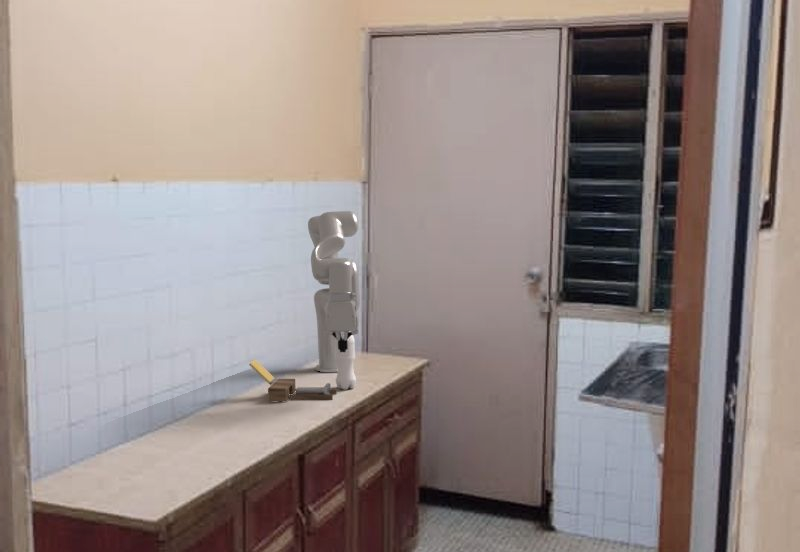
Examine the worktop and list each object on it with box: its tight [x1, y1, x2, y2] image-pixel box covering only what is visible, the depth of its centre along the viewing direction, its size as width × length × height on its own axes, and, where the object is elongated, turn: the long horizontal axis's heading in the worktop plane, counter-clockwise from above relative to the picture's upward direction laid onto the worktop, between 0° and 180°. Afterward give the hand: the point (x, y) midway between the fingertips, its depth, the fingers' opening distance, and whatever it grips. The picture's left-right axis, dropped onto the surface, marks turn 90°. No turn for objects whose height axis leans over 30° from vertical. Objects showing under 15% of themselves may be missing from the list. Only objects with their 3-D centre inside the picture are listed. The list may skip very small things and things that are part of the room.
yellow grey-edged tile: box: [248, 359, 278, 386], centre depth 291 cm, size 6×10×1 cm
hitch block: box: [267, 378, 337, 402], centre depth 290 cm, size 14×21×5 cm, turn 84°
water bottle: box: [334, 331, 357, 391], centre depth 300 cm, size 7×7×25 cm
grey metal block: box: [295, 382, 332, 395], centre depth 290 cm, size 11×6×4 cm, turn 84°
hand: (343, 351), depth 287 cm, fingers closed
